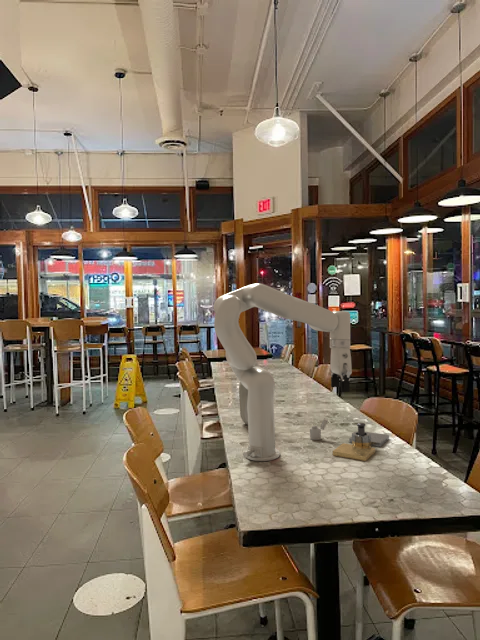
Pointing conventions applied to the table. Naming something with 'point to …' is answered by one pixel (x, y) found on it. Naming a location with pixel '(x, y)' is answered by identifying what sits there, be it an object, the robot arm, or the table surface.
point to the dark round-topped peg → (361, 428)
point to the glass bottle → (243, 403)
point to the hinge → (361, 446)
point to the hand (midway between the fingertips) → (340, 389)
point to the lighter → (317, 431)
